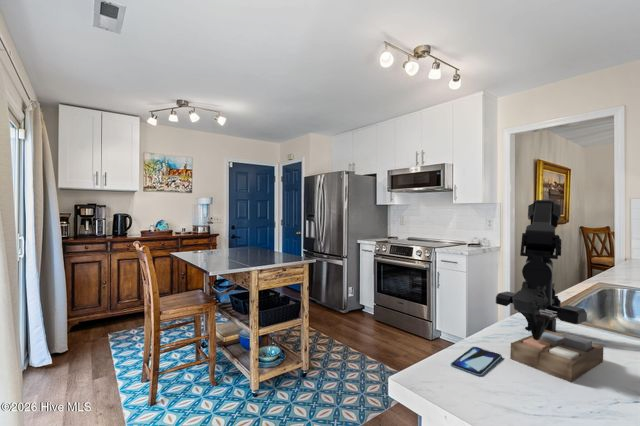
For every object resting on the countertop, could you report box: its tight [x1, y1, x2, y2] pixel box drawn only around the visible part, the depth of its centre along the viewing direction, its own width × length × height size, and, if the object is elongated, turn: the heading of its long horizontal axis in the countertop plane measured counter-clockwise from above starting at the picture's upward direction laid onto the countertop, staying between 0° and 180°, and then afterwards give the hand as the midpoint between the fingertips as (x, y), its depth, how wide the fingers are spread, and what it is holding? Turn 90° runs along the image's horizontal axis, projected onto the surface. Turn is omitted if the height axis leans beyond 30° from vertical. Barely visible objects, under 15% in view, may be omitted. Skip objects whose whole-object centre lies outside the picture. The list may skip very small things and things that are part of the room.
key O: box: [564, 334, 593, 352], centre depth 82 cm, size 4×4×3 cm
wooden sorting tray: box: [509, 330, 605, 383], centre depth 82 cm, size 13×19×4 cm
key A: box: [549, 346, 579, 360], centre depth 77 cm, size 4×4×3 cm
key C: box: [540, 332, 564, 343], centre depth 87 cm, size 4×4×3 cm
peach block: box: [523, 338, 550, 350], centre depth 82 cm, size 4×4×3 cm
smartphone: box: [450, 346, 503, 378], centre depth 81 cm, size 7×1×15 cm
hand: (536, 339), depth 82 cm, fingers closed
